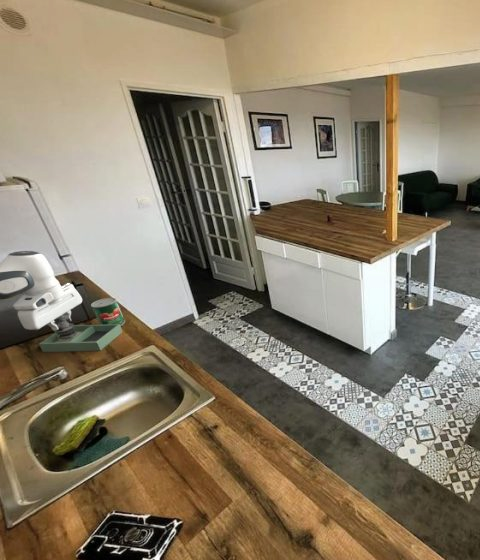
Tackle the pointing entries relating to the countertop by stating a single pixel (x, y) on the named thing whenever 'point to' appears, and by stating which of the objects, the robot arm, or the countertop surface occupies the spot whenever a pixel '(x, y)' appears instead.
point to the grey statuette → (64, 328)
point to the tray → (83, 339)
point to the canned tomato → (108, 311)
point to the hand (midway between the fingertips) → (62, 325)
